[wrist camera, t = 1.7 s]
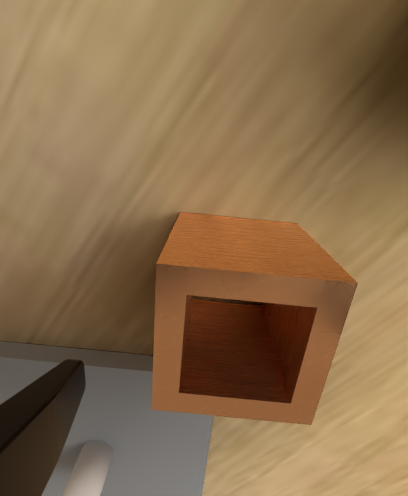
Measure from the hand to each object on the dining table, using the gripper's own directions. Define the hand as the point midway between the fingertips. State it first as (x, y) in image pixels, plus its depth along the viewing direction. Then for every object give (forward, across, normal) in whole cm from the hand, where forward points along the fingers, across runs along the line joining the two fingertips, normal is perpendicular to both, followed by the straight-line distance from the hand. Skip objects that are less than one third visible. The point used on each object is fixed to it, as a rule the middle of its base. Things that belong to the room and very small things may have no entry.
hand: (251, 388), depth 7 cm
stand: (+7, +7, +13) cm, 17 cm away
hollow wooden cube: (+7, 0, 0) cm, 7 cm away
